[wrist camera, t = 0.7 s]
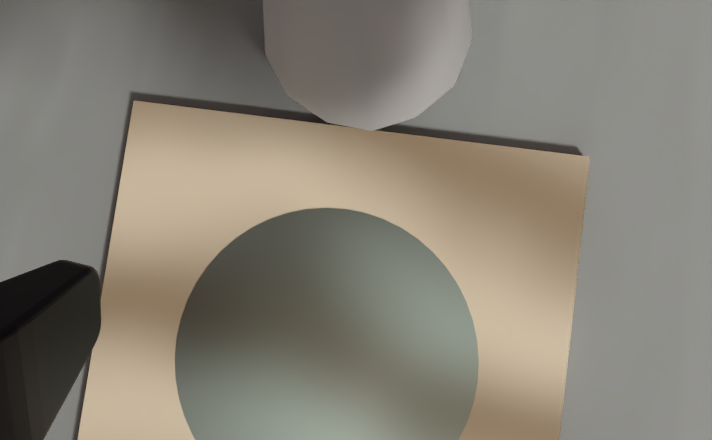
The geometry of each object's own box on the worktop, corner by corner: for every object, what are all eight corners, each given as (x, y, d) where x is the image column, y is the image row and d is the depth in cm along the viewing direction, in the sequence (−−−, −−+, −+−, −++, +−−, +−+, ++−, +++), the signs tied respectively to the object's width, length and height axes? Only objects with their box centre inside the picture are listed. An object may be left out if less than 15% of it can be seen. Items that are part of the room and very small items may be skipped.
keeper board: (533, 637, 19) (536, 646, 19) (63, 558, 20) (56, 565, 20) (586, 159, 20) (590, 156, 20) (138, 103, 21) (133, 100, 21)
